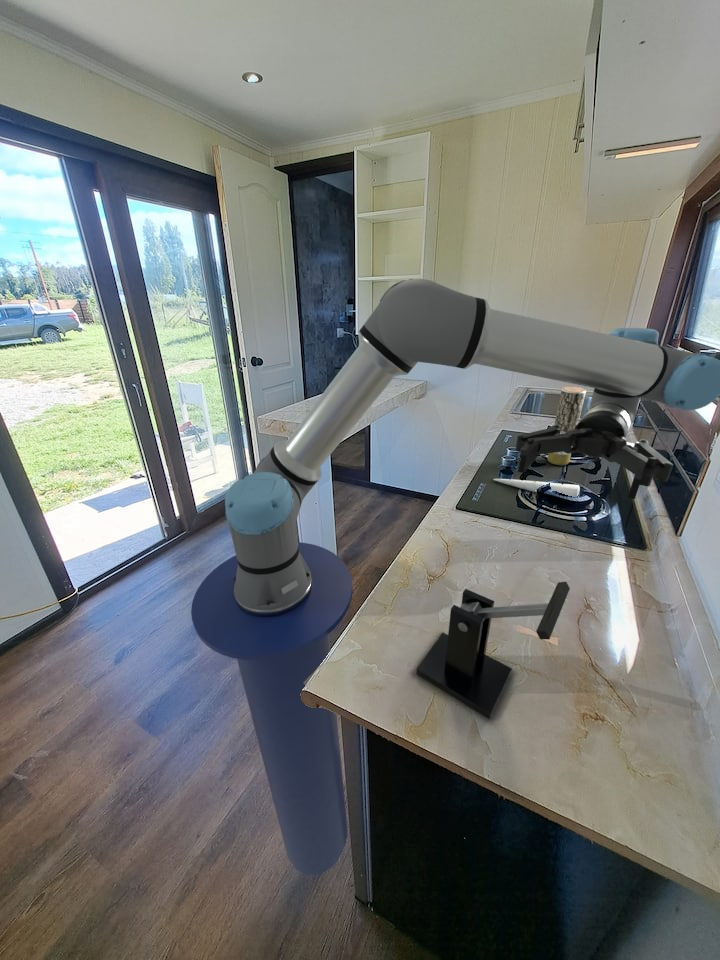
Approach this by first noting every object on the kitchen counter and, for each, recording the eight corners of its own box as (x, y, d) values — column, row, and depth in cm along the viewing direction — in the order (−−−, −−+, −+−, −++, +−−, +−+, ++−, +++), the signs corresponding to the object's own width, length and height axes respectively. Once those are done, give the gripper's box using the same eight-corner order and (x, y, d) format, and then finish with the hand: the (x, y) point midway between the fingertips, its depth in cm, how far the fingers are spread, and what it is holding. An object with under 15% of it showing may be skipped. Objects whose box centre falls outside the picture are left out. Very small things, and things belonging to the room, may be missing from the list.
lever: (572, 592, 50) (564, 576, 49) (552, 644, 43) (542, 626, 42) (480, 601, 60) (473, 588, 59) (452, 644, 53) (444, 629, 52)
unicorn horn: (497, 476, 122) (499, 462, 120) (579, 498, 109) (583, 483, 106) (491, 481, 119) (493, 467, 117) (574, 505, 105) (578, 490, 103)
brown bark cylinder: (557, 456, 135) (573, 385, 123) (573, 464, 129) (591, 390, 118) (542, 460, 133) (556, 388, 121) (557, 467, 127) (574, 392, 116)
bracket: (510, 673, 61) (526, 604, 54) (489, 719, 54) (504, 647, 48) (442, 637, 67) (448, 571, 61) (416, 674, 61) (419, 605, 54)
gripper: (684, 467, 61) (681, 529, 46) (523, 437, 75) (481, 477, 60) (702, 422, 58) (704, 473, 43) (530, 399, 71) (487, 431, 57)
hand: (574, 475), depth 51 cm, fingers open, 13 cm apart
